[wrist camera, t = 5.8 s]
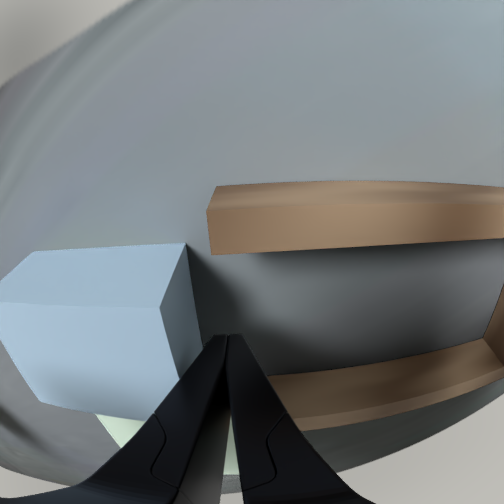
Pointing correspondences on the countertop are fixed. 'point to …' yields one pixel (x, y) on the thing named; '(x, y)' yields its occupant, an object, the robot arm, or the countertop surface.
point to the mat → (127, 428)
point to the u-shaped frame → (355, 235)
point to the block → (102, 326)
